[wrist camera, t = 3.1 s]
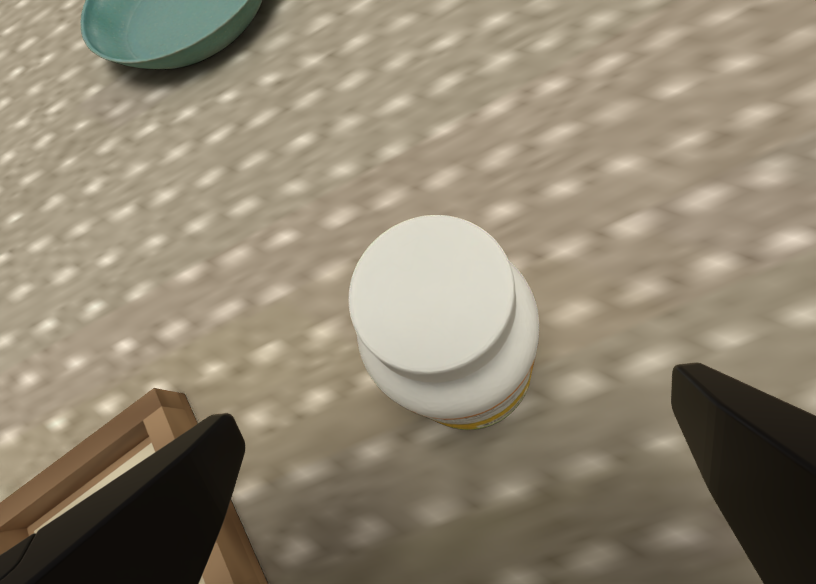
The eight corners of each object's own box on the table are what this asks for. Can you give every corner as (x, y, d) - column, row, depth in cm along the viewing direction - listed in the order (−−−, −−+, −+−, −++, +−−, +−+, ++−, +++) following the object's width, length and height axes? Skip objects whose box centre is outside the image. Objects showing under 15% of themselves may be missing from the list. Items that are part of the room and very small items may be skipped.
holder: (273, 597, 18) (246, 613, 16) (67, 757, 17) (14, 792, 15) (184, 393, 22) (154, 387, 20) (15, 520, 21) (-31, 525, 19)
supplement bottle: (420, 299, 21) (351, 180, 12) (539, 317, 19) (561, 196, 10) (393, 415, 19) (290, 379, 10) (521, 444, 18) (529, 432, 9)
